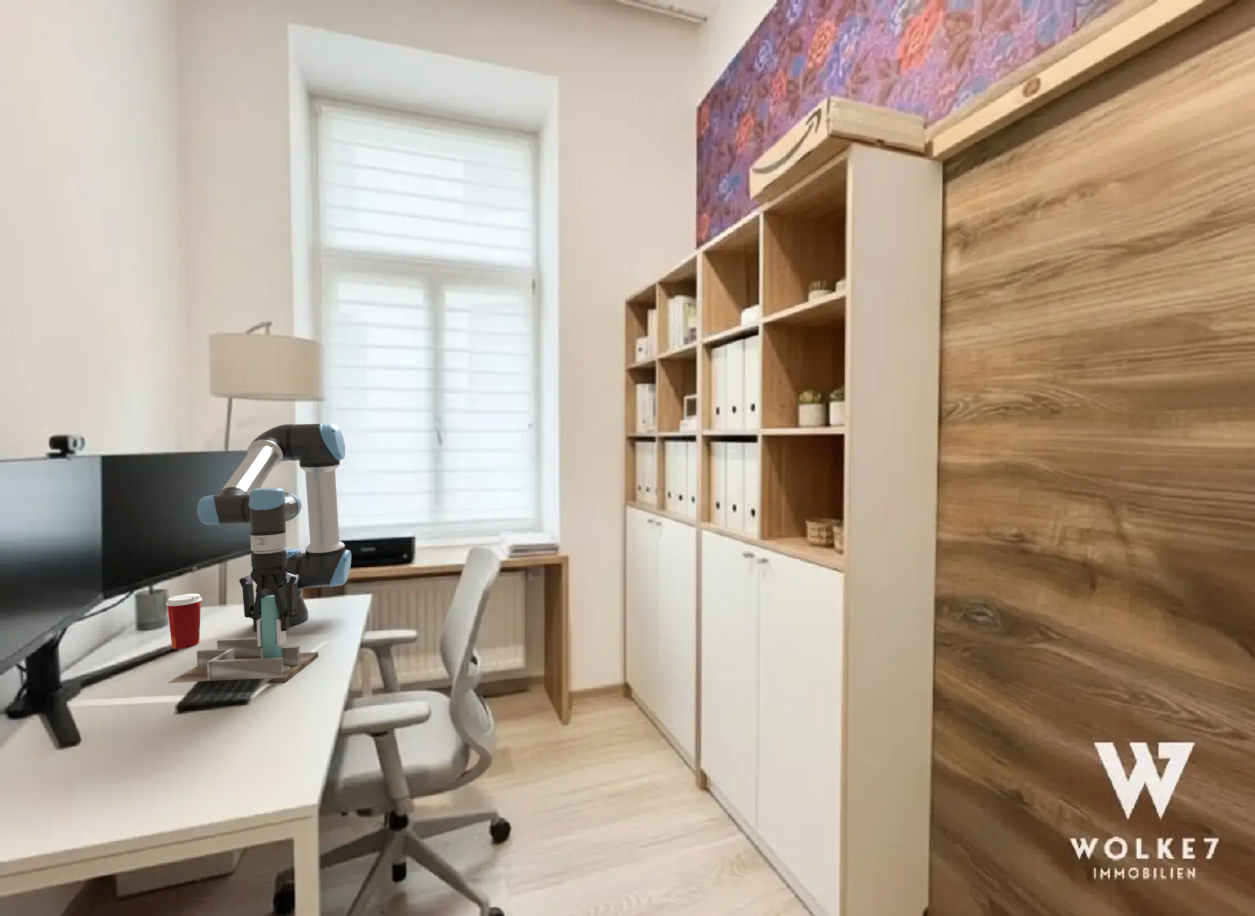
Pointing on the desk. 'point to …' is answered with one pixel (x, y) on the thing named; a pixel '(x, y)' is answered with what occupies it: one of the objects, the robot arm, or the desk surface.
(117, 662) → the desk surface
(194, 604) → the coffee cup
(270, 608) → the teal dowel
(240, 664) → the slot board
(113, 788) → the desk surface
